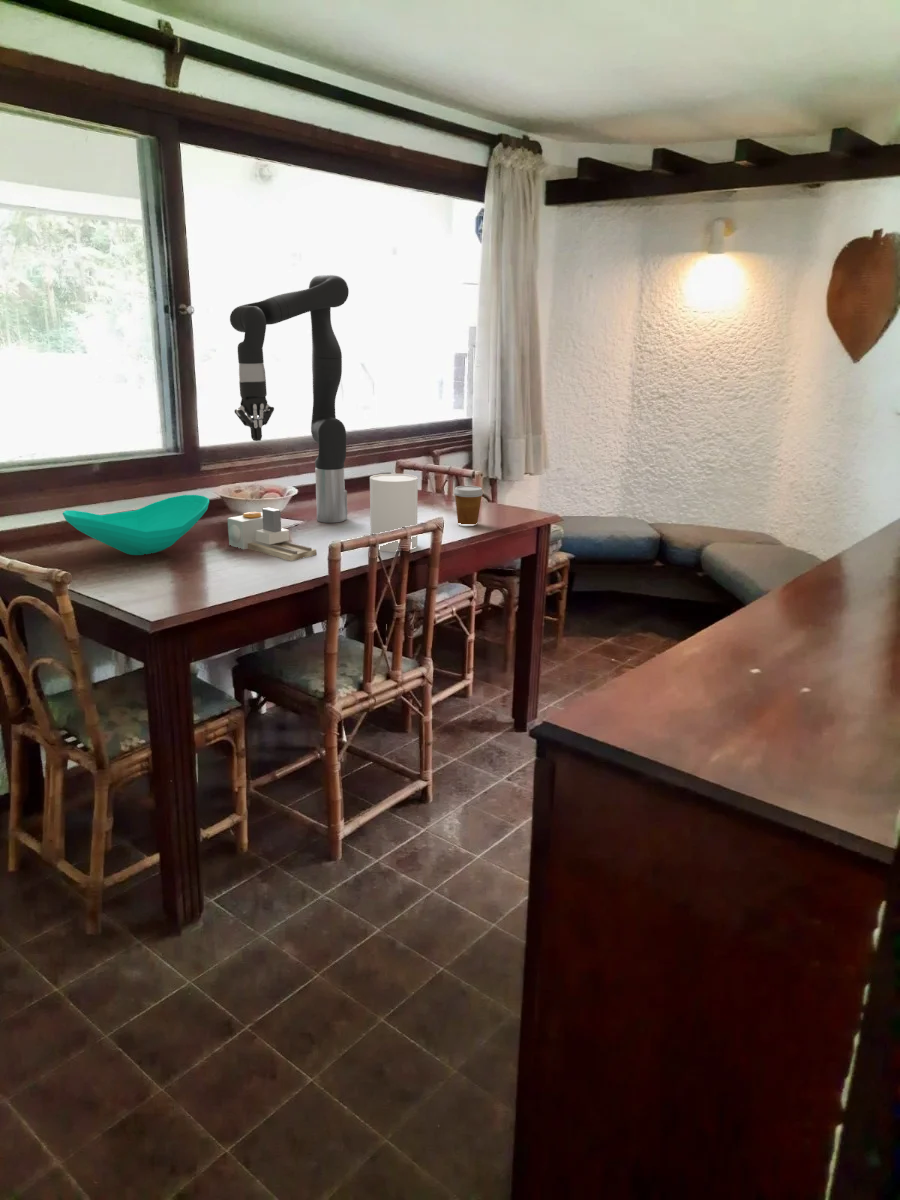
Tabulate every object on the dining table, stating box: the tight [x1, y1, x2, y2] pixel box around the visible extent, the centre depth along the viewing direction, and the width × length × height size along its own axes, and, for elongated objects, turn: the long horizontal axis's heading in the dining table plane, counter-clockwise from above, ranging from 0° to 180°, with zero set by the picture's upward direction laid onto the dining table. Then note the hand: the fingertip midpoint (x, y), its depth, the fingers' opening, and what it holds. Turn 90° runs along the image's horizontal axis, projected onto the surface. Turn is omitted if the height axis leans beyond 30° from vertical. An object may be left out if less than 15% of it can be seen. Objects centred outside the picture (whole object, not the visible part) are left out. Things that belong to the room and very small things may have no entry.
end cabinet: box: [226, 511, 263, 550], centre depth 240 cm, size 12×7×8 cm, turn 139°
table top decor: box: [62, 494, 210, 556], centre depth 229 cm, size 40×28×13 cm
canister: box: [369, 473, 419, 553], centre depth 239 cm, size 14×14×20 cm
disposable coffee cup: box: [453, 485, 484, 524], centre depth 269 cm, size 10×10×12 cm
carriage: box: [256, 507, 290, 545], centre depth 234 cm, size 7×6×9 cm
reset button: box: [242, 511, 261, 519], centre depth 240 cm, size 5×5×4 cm
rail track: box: [247, 539, 317, 562], centre depth 233 cm, size 9×19×2 cm, turn 49°
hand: (256, 440), depth 244 cm, fingers closed
